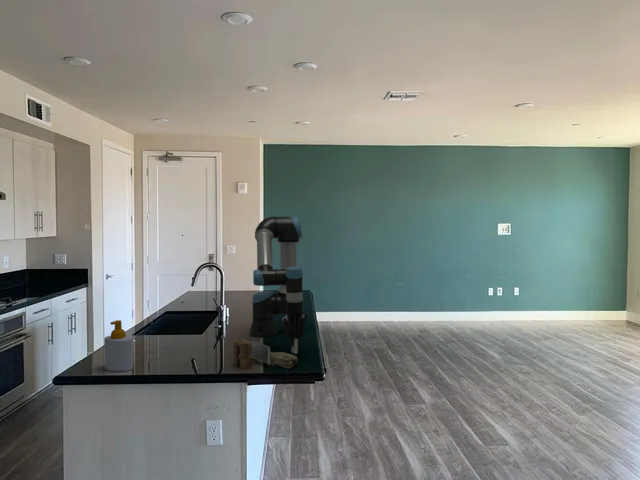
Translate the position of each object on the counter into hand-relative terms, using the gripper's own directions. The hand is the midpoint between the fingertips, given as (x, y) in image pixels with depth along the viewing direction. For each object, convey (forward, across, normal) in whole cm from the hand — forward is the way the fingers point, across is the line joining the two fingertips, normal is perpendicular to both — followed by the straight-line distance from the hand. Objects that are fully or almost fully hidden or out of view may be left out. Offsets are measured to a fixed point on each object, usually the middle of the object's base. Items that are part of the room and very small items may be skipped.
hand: (294, 352), depth 207 cm
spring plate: (+1, +21, -2) cm, 21 cm away
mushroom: (+3, +10, +5) cm, 11 cm away
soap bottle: (+3, +68, -32) cm, 75 cm away
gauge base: (+2, +20, -6) cm, 21 cm away
